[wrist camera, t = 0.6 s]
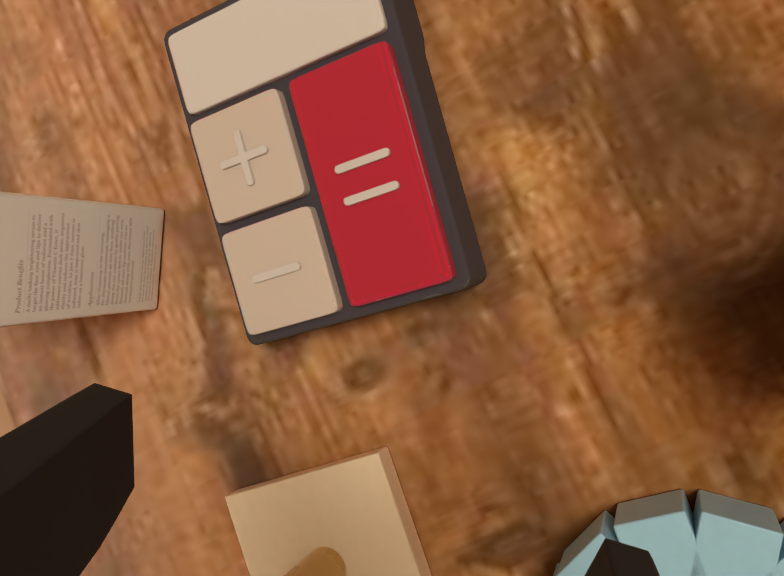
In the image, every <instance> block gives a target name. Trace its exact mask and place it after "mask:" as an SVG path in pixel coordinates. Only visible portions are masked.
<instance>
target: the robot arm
mask: <svg viewBox="0 0 784 576" xmlns="http://www.w3.org/2000/svg"><path fill="white" fill-rule="evenodd" d="M133 488H134V456H133V420H132V394H129V393H125V392H122V391H119V390H115V389H112V388H109V387H106V386H102V385H99V384H96V383H94V384H92V385H90V386H89V387H87V388H85V389H83V390H81V391H80V392H78V393H76V394H74V395H73V396H71V397H69V398H67V399H66V400H64V401H62V402H60V403H59V404H57V405H55V406H53V407H52V408H50V409H48V410H47V411H45V412H43V413H42V414H40V415H38V416H36V417H35V418H33V419H31V420H30V421H28V422H26V423H24V424H23V425H21V426H19V427H17V428H16V429H14V430H12V431H11V432H9V433H7V434H5V435H4V436H2V437H0V576H79V575H80V574H81V573H82V571H83V570H84V568H85V567H86V566H87V564H88V563H89V562H90V560H91V559H92V557H93V556H94V555H95V553H96V552H97V550H98V549H99V548H100V546H101V544H102V542H103V541H104V539H105V537H106V536H107V534H108V532H109V531H110V529H111V527H112V526H113V524H114V522H115V520H116V519H117V517H118V515H119V513H120V512H121V510H122V508H123V506H124V504H125V503H126V501H127V499H128V497H129V495H130V494H131V492H132V490H133ZM585 576H660V575H659V572H658V570H657V568H656V565H655V563H654V560H653V558H652V557H651V555H650V553H649V551H647V550H644V549H640V548H637V547H634V546H630V545H627V544H624V543H620V542H617V541H614V540H611V539H607V538H605V539H604V541H603V543H602V545H601V547H600V548H599V550H598V552H597V554H596V556H595V558H594V559H593V561H592V563H591V565H590V567H589V568H588V570H587V572H586V574H585Z"/></svg>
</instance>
